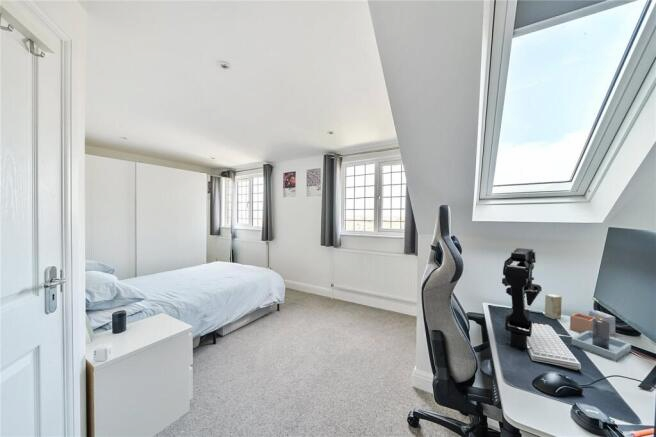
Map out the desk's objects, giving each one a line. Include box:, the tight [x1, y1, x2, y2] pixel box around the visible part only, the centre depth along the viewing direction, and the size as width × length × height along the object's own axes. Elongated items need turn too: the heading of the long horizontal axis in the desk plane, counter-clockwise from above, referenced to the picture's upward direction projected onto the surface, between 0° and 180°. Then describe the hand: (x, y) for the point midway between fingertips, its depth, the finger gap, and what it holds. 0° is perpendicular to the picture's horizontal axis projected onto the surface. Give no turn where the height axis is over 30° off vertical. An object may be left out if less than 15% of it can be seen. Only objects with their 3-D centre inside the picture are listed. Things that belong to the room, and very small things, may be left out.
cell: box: [592, 318, 610, 350], centre depth 103 cm, size 5×5×12 cm
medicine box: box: [588, 310, 616, 336], centre depth 118 cm, size 8×4×9 cm, turn 179°
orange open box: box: [569, 312, 594, 334], centre depth 118 cm, size 7×7×7 cm
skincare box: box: [544, 293, 562, 320], centre depth 134 cm, size 6×4×12 cm
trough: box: [570, 331, 632, 362], centre depth 103 cm, size 16×13×3 cm
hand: (523, 307), depth 115 cm, fingers open, 9 cm apart
